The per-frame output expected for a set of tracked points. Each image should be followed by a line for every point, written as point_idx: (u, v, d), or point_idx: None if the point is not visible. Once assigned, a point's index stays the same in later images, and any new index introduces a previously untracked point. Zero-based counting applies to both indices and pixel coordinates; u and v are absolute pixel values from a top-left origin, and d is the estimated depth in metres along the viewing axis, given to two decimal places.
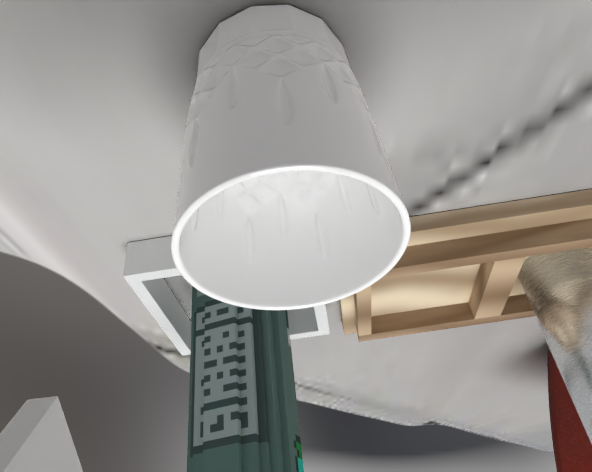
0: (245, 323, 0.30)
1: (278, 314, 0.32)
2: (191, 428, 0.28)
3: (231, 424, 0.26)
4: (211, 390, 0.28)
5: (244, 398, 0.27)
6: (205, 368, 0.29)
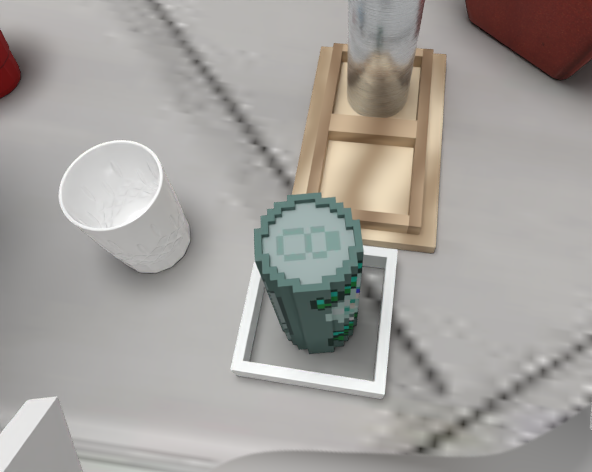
0: None
1: None
2: (280, 305, 0.31)
3: None
4: None
5: None
6: (271, 300, 0.34)
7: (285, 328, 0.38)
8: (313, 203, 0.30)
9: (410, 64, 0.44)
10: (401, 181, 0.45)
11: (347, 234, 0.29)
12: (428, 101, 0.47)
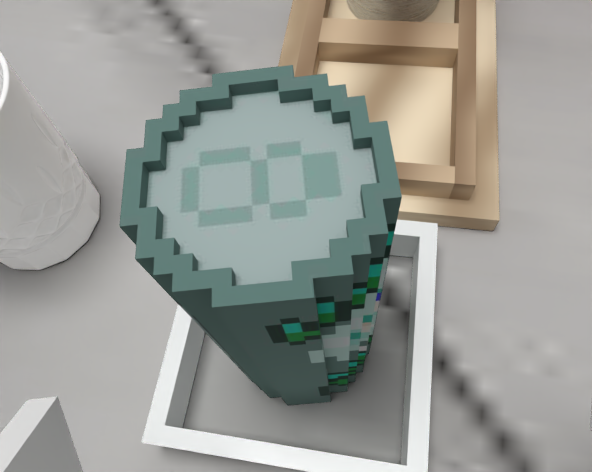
0: None
1: None
2: (208, 331, 0.14)
3: None
4: None
5: None
6: None
7: (240, 366, 0.21)
8: (275, 93, 0.13)
9: None
10: (436, 118, 0.28)
11: (357, 158, 0.11)
12: None
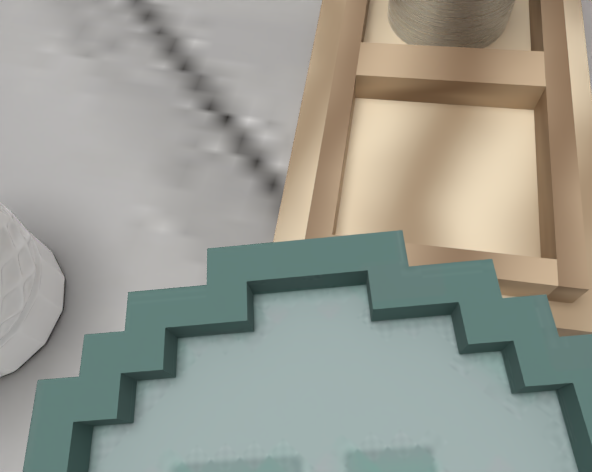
0: None
1: None
2: None
3: None
4: None
5: None
6: None
7: None
8: (356, 292, 0.05)
9: None
10: (516, 180, 0.21)
11: None
12: (561, 14, 0.23)
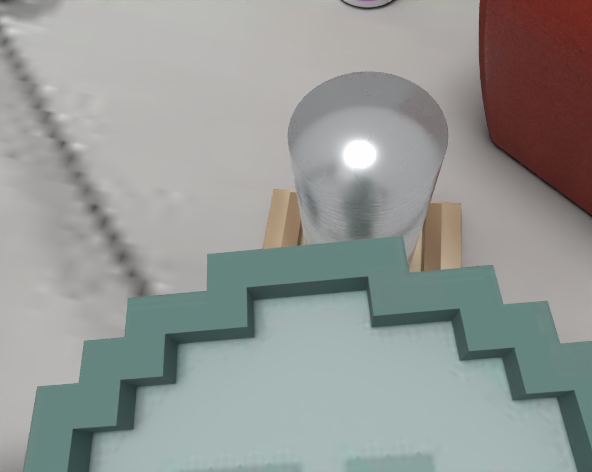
0: None
1: None
2: None
3: None
4: None
5: None
6: None
7: None
8: (357, 298, 0.05)
9: (408, 265, 0.26)
10: None
11: None
12: None
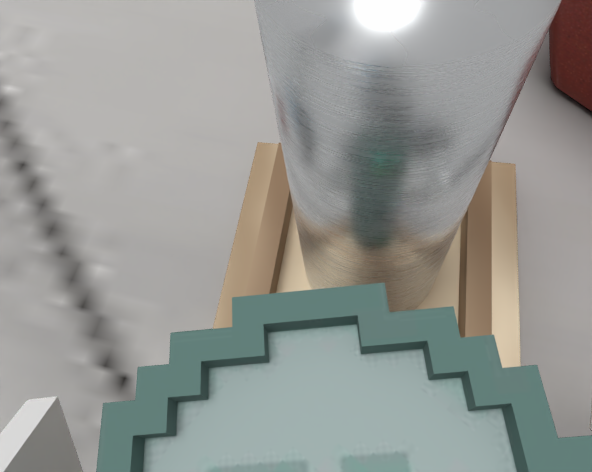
0: None
1: None
2: None
3: None
4: None
5: None
6: None
7: None
8: (349, 330, 0.07)
9: (452, 239, 0.17)
10: None
11: None
12: (488, 297, 0.20)
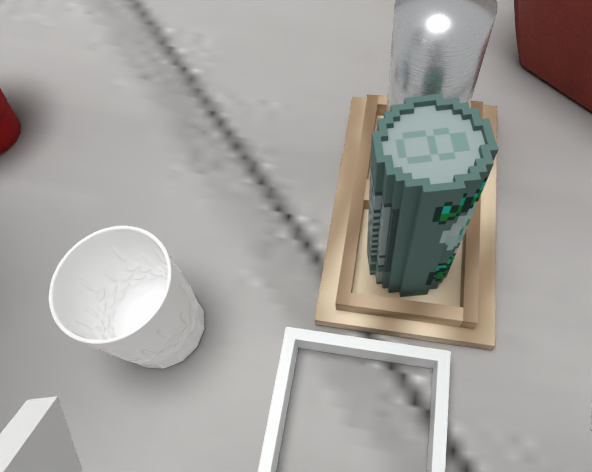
0: None
1: None
2: (392, 222, 0.29)
3: (370, 177, 0.30)
4: (372, 211, 0.31)
5: None
6: (372, 227, 0.32)
7: (380, 264, 0.35)
8: (433, 106, 0.27)
9: None
10: None
11: (475, 134, 0.26)
12: None
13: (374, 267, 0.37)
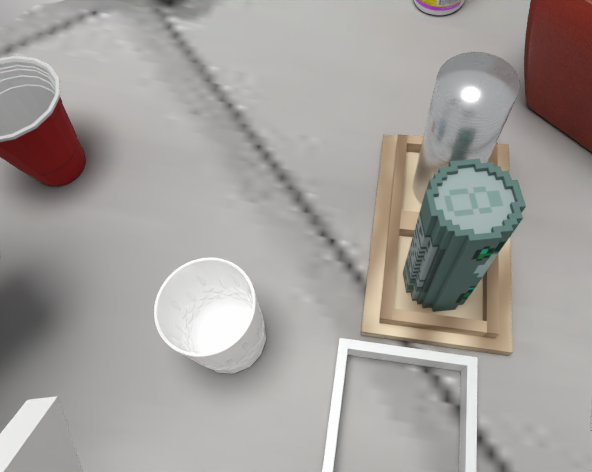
0: None
1: None
2: (437, 258, 0.36)
3: (419, 220, 0.37)
4: (418, 247, 0.38)
5: None
6: (416, 258, 0.39)
7: (419, 286, 0.42)
8: (472, 168, 0.34)
9: None
10: None
11: (506, 192, 0.33)
12: None
13: (411, 287, 0.45)
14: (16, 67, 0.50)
